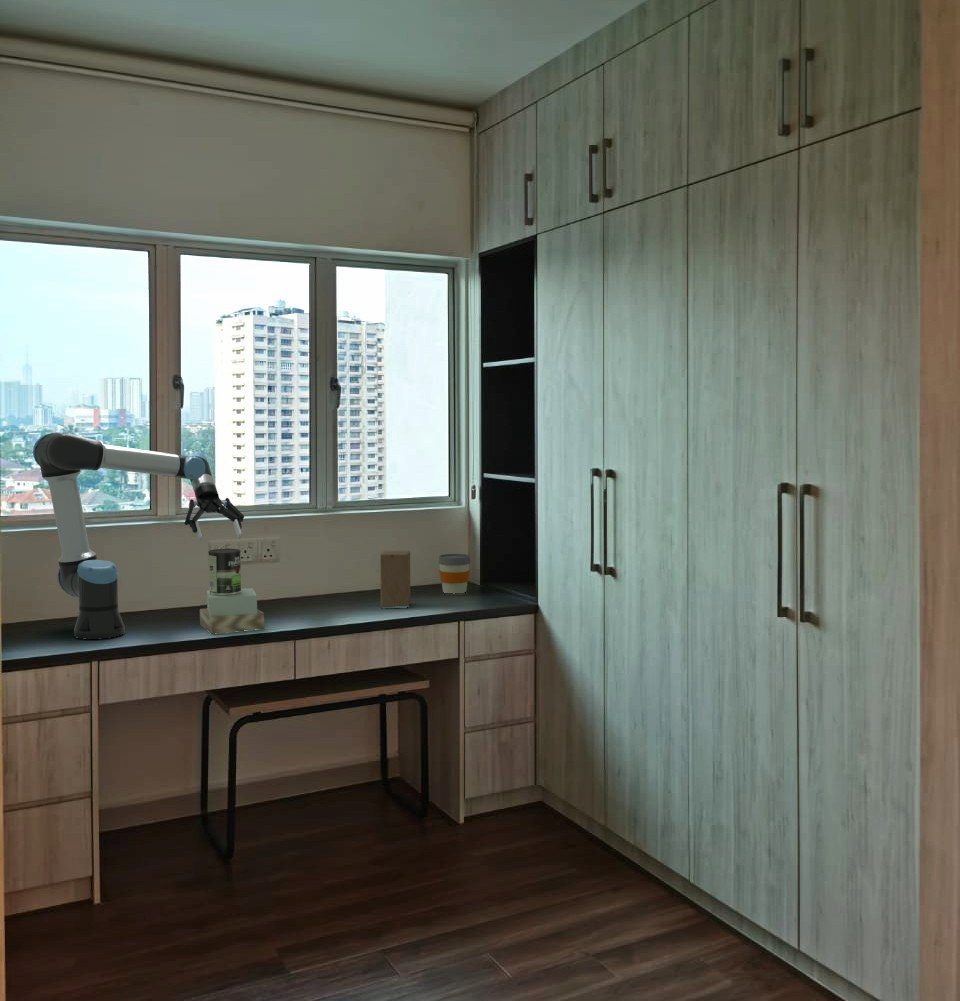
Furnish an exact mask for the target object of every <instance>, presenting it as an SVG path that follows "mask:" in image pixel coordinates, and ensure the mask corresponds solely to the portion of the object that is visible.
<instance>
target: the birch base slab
mask: <svg viewBox="0 0 960 1001" xmlns="http://www.w3.org/2000/svg"><path fill="white" fill-rule="evenodd" d="M199 625H200V627H202V626H203V627H204V628H205V629H204V628H203V627H202V628H203V629H204V630H205V631H207V630H208V631H209V632H210V633H211V634H210V633H209V632H208V631H207V632H208V633H209V634H210V635H212V634H214V635H216V634H215V633H225V634H227V633H226V632H235V631H244V630H255V629H264V630H265V613H264V612H263V611H261V610H259V609H258V608H257V614H244V615H227V616H211V617H210V616H209V612H208V609H207V607H206V608H200V609H199ZM255 631H256V630H255ZM235 633H236V632H235Z"/></svg>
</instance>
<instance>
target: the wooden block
mask: <svg viewBox="0 0 960 1001" xmlns="http://www.w3.org/2000/svg"><path fill="white" fill-rule="evenodd" d="M379 556H380V558H379V559H380V561H379V562H380V563H379V564H380V566H379V568H380V570H379V571H380V608H381V607H393V606H394V607H395V606H409V607H410V605H409V603H410V604H411V551H410V550H383V551H382V552H381V553H380V555H379Z"/></svg>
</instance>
